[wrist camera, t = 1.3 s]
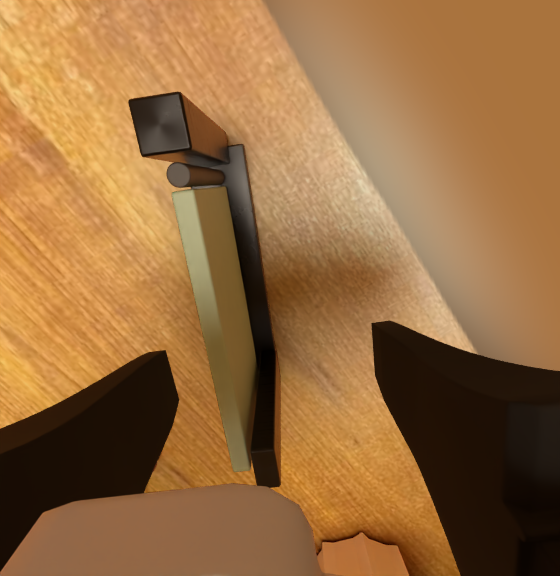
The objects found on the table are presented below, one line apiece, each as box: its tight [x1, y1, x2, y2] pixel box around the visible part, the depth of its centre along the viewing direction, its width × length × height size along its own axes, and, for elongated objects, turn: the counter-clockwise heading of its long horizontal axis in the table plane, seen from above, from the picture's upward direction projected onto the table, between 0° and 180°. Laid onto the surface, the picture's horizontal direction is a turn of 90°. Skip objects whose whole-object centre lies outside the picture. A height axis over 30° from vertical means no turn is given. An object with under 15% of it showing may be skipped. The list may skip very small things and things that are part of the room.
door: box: [167, 162, 259, 472], centre depth 16 cm, size 13×2×7 cm, turn 8°
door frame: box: [128, 92, 281, 488], centre depth 16 cm, size 16×3×9 cm, turn 8°
